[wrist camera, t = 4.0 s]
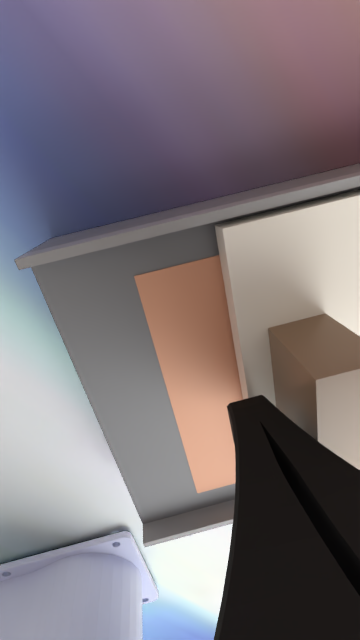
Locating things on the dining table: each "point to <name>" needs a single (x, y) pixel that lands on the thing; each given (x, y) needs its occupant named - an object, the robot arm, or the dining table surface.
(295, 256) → the cover
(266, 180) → the dining table surface
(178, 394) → the box
